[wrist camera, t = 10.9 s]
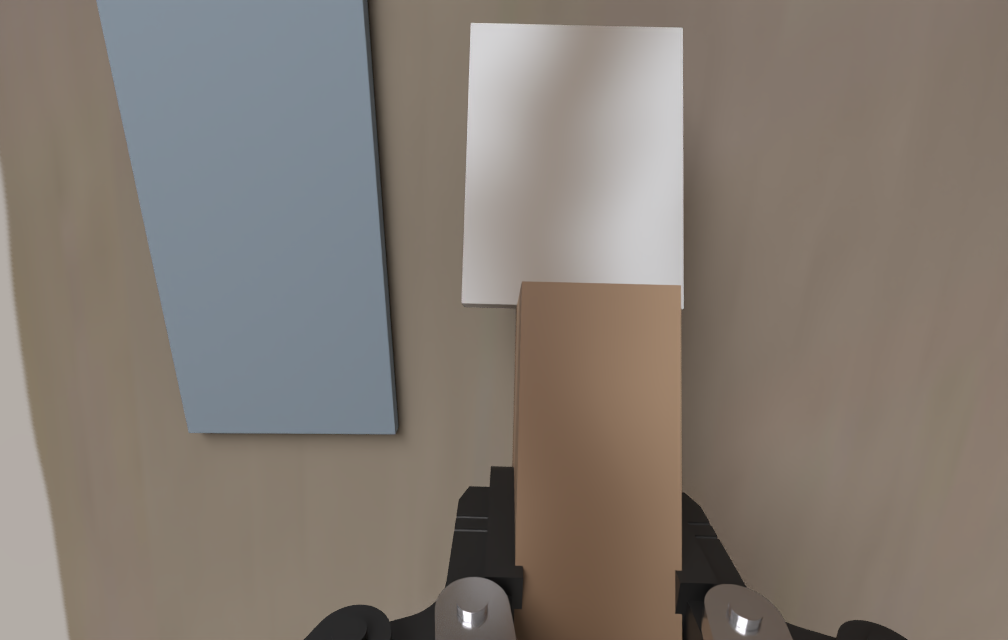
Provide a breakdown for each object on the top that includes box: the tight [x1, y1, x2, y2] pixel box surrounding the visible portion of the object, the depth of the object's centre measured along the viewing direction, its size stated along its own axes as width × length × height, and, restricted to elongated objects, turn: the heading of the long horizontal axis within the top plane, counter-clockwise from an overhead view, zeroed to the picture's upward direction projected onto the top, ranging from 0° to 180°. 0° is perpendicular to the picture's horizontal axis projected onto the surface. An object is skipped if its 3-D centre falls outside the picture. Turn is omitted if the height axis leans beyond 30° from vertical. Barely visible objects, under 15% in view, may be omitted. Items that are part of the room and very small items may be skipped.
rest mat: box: [96, 0, 398, 434], centre depth 18 cm, size 9×22×1 cm, turn 0°
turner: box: [462, 23, 684, 640], centre depth 12 cm, size 6×19×5 cm, turn 179°
